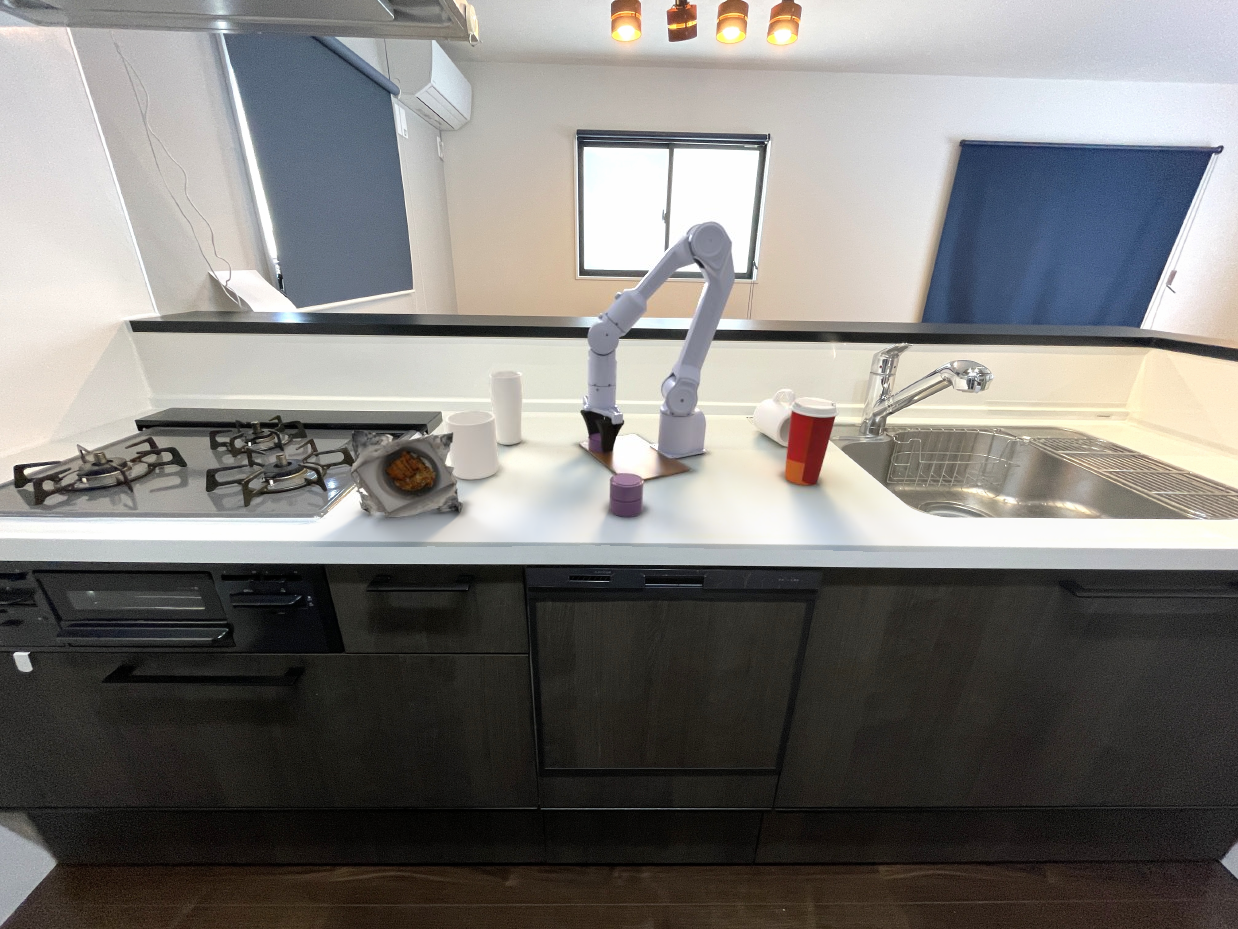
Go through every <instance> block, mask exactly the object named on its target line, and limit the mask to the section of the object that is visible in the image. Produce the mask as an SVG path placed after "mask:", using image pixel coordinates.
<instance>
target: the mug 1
mask: <svg viewBox="0 0 1238 929" xmlns="http://www.w3.org/2000/svg"><path fill="white" fill-rule="evenodd" d="M444 421H445V427H446V434H448V433H452V432H453V442H452V443H451V445H450V451H449V453H448V454H449V462H450V467H454V470H453V472H452V474H453V475H454V477H455V478H456V477H457V478H458V479H461V480H469V481H471V480H472V481H473V480H483V479H485V478H490V477H491V476H493V475H495V474H496V473H497V472H498V470H499V464H500V463H499V452H498V451H499V450H498V441H497V434H496V424H495V415H494V414H493V412H490V411H487V410H479V409H478V410H477V409H476V410H475V409H473V410H462V411H458V412H454V413H450V414H449V415H447V416H446V417H445V420H444Z"/></svg>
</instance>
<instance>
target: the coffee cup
mask: <svg viewBox="0 0 1238 929" xmlns="http://www.w3.org/2000/svg"><path fill="white" fill-rule="evenodd" d="M789 409H790V410H792V411H791V420H790V429H789V438H788V447H787V449H786V458H785V467H784V478H785V479H786V481H788V482H790V483H792V484H795V485H800V486H814V485H816V484H817V483H818V481H819V478H820V476H821V475H820V474H821V471H822V467H823V464H824V460H825V457H826V453H827V449H828V445H829V442H830V438H831V434H832V431H833V428H834V424H835V421H836V416H838V415H839V411H838V407H837V405H836V402H834V401H832V400H828V399H824V398H821V397H813V396H812V397H811V396H807V397H806V396H805V397H804V396H803V397H798V398H797V397H796V399H795V401H794V402H792V405H791V406H789Z"/></svg>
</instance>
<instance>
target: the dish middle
mask: <svg viewBox="0 0 1238 929" xmlns="http://www.w3.org/2000/svg"><path fill="white" fill-rule="evenodd" d="M610 496H611V497H612V498H613V499H615V500H618V501H622V502H632V501H636V500H639V499H640V498H642V496H643V497H644V481H643V478H642V477H640V476H638V475H636V474H631V473H620V474H614V475H612V476H611V477H610V478H609V497H610Z"/></svg>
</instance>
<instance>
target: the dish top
mask: <svg viewBox="0 0 1238 929" xmlns="http://www.w3.org/2000/svg"><path fill="white" fill-rule="evenodd" d="M587 442H588V449H589V450H590V451H591V452H594V453H608V452H603V451H602V446H601V436H600V433H594V434H591V435H588V437H587ZM613 449H614V448H613ZM610 452H611V451H610Z"/></svg>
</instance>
